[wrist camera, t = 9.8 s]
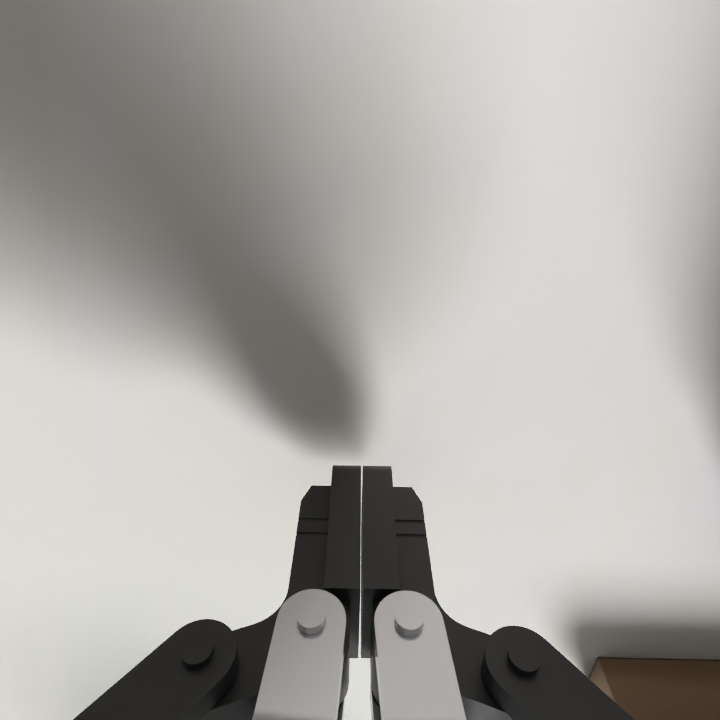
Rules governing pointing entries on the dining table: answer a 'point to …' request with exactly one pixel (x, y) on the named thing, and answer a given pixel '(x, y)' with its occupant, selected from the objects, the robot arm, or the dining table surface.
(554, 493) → the dining table surface
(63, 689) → the dining table surface
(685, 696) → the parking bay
